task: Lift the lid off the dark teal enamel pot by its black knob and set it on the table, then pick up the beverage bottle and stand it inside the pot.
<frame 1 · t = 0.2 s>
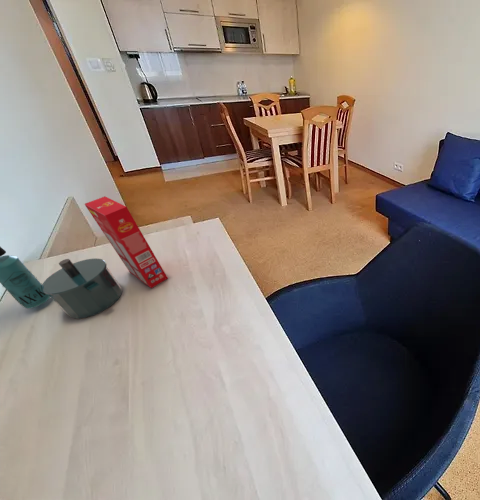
food packaging: (148, 275, 96), on the table
lid: (76, 276, 83), point 9 cm above the table, touching pot
pot: (95, 300, 88), on the table
beverage bottle: (41, 304, 89), on the table
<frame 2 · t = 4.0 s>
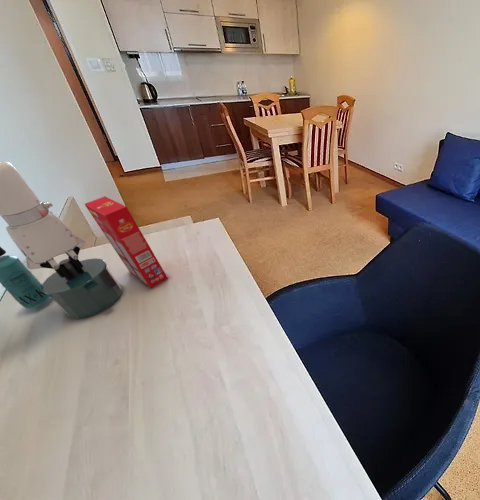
hand: (74, 273, 82), 10 cm above the table, tool pointing down, fingers closed on lid, 2 cm apart
lid: (76, 276, 83), point 10 cm above the table, touching gripper, pot
everything else where it was.
when the fingers open (1 cm above the table, at t = 12.0 s): lid stays where it is, point 1 cm above the table.
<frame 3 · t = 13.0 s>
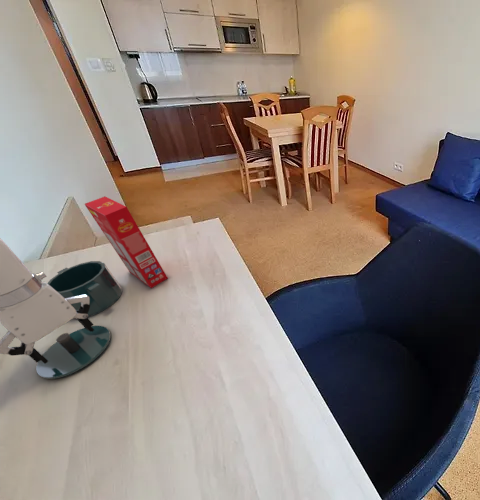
hand: (68, 344, 71), 3 cm above the table, tool pointing down, fingers open, 9 cm apart
lid: (75, 350, 73), point 1 cm above the table
everything else where it was.
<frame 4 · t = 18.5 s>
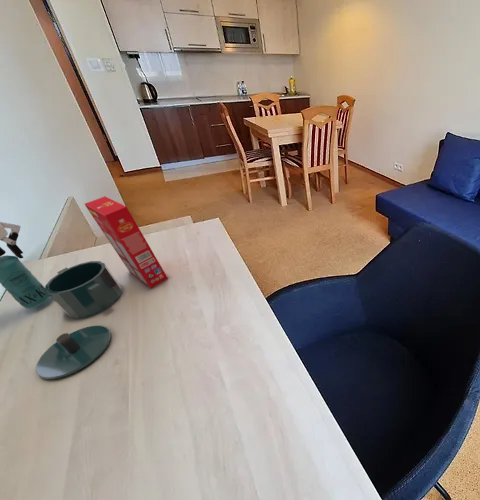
hand: (3, 264, 81), 15 cm above the table, tool pointing down, fingers closed on beverage bottle, 6 cm apart
beverage bottle: (41, 304, 89), on the table, touching gripper
everything else where it was.
when the fingers open (16 cm above the table, at t = 25.5 s): beverage bottle stays where it is, resting on pot.
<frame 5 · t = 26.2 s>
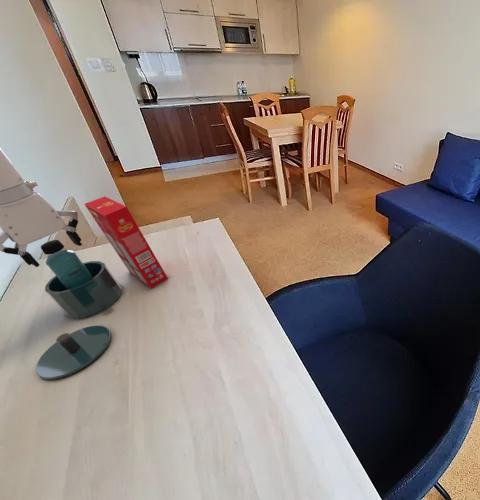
hand: (58, 254, 79), 17 cm above the table, tool pointing down, fingers open, 9 cm apart
beverage bottle: (94, 300, 88), resting on pot
everything else where it was.
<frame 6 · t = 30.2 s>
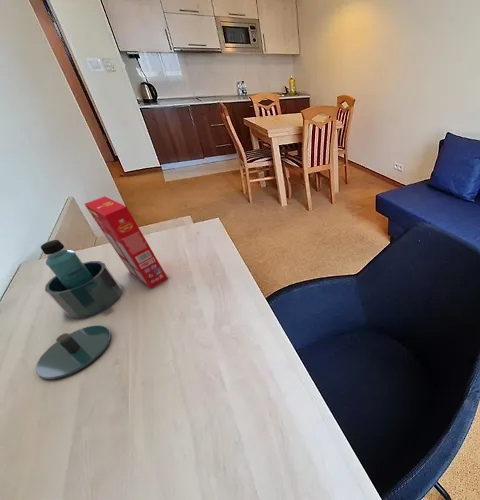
nothing on the table moved.
at the end: beverage bottle 0.1 cm off-centre in the pot, point 0.3 cm above the pot's base; lid inside the target area (0.1 cm from its centre), point 0.6 cm above the table; the gripper is holding nothing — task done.
